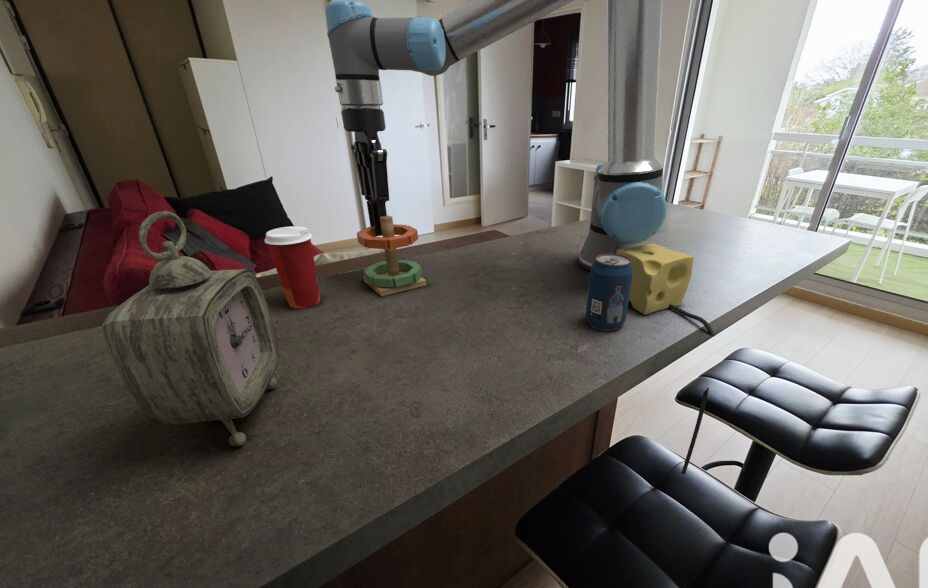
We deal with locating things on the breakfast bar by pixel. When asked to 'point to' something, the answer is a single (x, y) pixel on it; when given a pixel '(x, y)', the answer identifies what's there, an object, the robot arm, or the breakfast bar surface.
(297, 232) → the paper cup
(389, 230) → the post stand
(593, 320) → the soda can
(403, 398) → the breakfast bar surface
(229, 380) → the tabletop clock
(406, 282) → the green ring
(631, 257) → the cheese
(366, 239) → the terracotta ring
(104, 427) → the breakfast bar surface
